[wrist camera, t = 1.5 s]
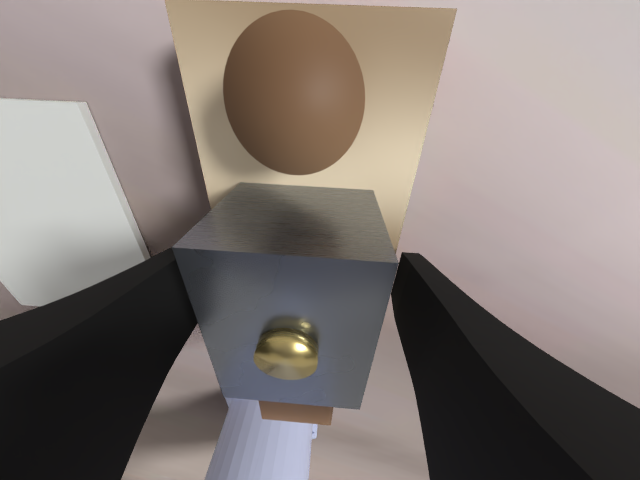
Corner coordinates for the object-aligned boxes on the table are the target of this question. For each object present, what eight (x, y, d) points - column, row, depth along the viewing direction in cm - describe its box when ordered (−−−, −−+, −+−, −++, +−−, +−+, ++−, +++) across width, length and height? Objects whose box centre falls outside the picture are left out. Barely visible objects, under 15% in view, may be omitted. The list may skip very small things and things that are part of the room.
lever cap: (353, 313, 11) (360, 423, 8) (257, 305, 11) (218, 410, 8) (373, 190, 8) (403, 276, 4) (240, 182, 8) (159, 259, 4)
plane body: (362, 331, 16) (373, 438, 11) (256, 323, 16) (221, 424, 11) (424, 31, 8) (567, -67, 3) (210, 22, 8) (14, -80, 3)
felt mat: (173, 311, 16) (169, 316, 16) (27, 300, 16) (21, 304, 16) (86, 102, 9) (76, 102, 9) (-151, 90, 10) (-168, 90, 9)
